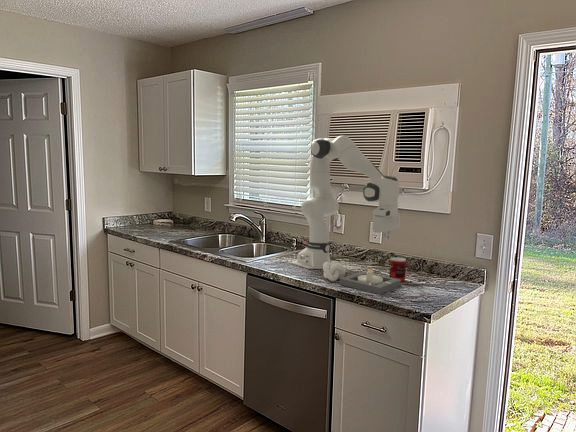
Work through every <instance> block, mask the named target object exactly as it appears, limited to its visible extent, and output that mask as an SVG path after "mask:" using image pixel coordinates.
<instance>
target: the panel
mask: <svg viewBox="0 0 576 432" xmlns="http://www.w3.org/2000/svg"><path fill="white" fill-rule="evenodd" d="M367 272H368V271H359V272H356V273H352V274H350V275H346V276H344V277H343V278H340V279H339V283H338V284H339V285H340V286H343V287H349V288H351V289H356V288H357V290H360V289H361V291H364V290H365V291H364V292H369V293H373V294H376V295H382V294H384V293H386V292H388V291H391V290H393V289H395V288H398V287H400V286H401V283H402V282H401V280H400V279H396V278H391V277H389V276H386V275H380V274H376V273H373V275H375V276H379V277H382V278H383V283H380V284H378V285H373V284H371V283H364V282H360V281H358V276H361V275H367ZM381 293H382V294H381Z"/></svg>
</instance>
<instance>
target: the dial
mask: <svg viewBox="0 0 576 432" xmlns="http://www.w3.org/2000/svg"><path fill="white" fill-rule="evenodd" d="M366 272H367V275H361V276H358V281H360V282H364V283H371V284H373V285H378V284H380V283H383V278H382V277H379V276H375V275H373V274H374V269H371V268H369V269H368V270H367V271H366Z"/></svg>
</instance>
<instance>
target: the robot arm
mask: <svg viewBox="0 0 576 432" xmlns="http://www.w3.org/2000/svg"><path fill="white" fill-rule="evenodd" d="M310 153H311V157H310V162H309V163H310V165H309V186H310V188H311V189H312V190H313V192H314V193H315V197H309V198H308V199H305V200H303V201H302V203H301V206H300V210H301V211H300V212H301V213H302V215H303V216H304V217H305V218H306V220H307V223H308V227H309V240H308V241H305V245H306V247H305V248H303V249H302V250H301V251H299V252H298V254H297V256H296V260H294V261H292V265H295V266H299V267H302V268H304V269H309V270H315V269H317V270H319V269H320V270H323V264H324V263H325V262H329V263H330V262H331V260H330V249H331V242H330V227H329V226H328V225H327V224H326V220H325V218H326V217H330V216H333V215H335V214H337V213H338V212H339V209H340V203H339V201H338V200H337V199H336V197H335V196H334V194H333V191H332V187H331V171H330V170H331V167H330V165H331V162H332V161H334V162H336V161H338V160H339V161H340V163H341V164H342V165H343V166H344V167H345V169H347V170H349V171H351V172H357V173H360V174H362V175H365V176H366V177H368V178H369V180H370V181H371V182H368V183H366V184H365V185H364V187H363V190H362V195H363V198H364V199H365V201H367V202H369V203H378V206H377V207H376V208H375V209H374V210H372V215H373V217H372V231H373V232H374V233H382V239H383V241H388V240H390V238H391V237H390V236H391V234H392V230H393V231H394V230H398V229H400V228H401V215H400V212H399V210H398V209H399V202H398V199H399V197H400V196H399V195H400V184H399V179H398V178H397V177H396V176H391V175H384V174H383V173H382V172H381V171H380V169H379V168H378V167H377V166H376V165H375V164H374V163H373V162H372V161H371V160H369V158H367V157H366V156H365V155H364V153H363V152H362V151H361V150H360V149H359V148H358V146H357V145H356V143H355V142H354V141H353V140H352V139H351V138H350V137H349V136H347V135H339V136H338V137H335V138H332V137H327V138H316V139H313V141H312V142H311V145H310Z"/></svg>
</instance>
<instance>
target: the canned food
mask: <svg viewBox="0 0 576 432" xmlns="http://www.w3.org/2000/svg"><path fill="white" fill-rule="evenodd" d="M389 258H390V259H389V272H388V273H389V274H388V277H391V278H396V279H400V280H401V283H403V282H405V281H406V271H407V269H406V267H407V259H406V258H404V257H397V256H396V257H389Z"/></svg>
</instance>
